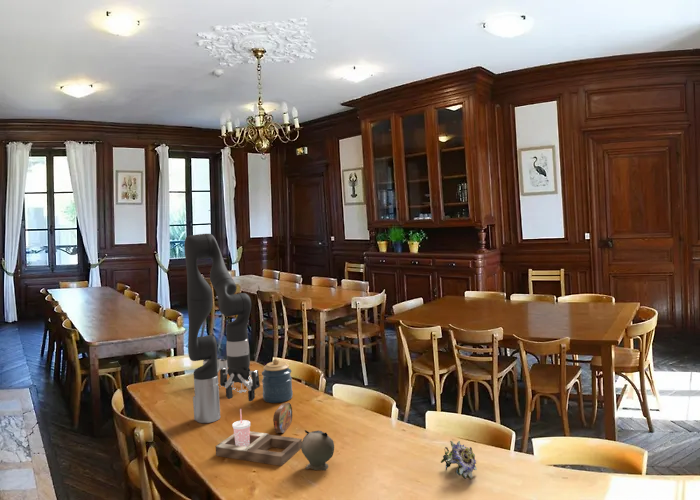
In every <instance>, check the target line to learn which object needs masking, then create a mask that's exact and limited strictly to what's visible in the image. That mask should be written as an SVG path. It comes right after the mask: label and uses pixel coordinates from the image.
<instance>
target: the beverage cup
mask: <svg viewBox="0 0 700 500" xmlns="http://www.w3.org/2000/svg"><path fill="white" fill-rule="evenodd" d="M239 418H240V420H237V421H234V422H233V423H232V424H231V425H232V428H233V434H234V437H235V445H237V446H244V447H247V446H248V445H250V431H251V421H249V420H248V419H247V420H246V419H243V415H242V408H239Z"/></svg>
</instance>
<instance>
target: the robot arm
mask: <svg viewBox="0 0 700 500" xmlns="http://www.w3.org/2000/svg"><path fill="white" fill-rule="evenodd" d="M183 247H184V257H185V267H186V279H187V281H186V282H187V290H186V291H187V292H186V293H187V294H186V296H187V298H186V299H187V312H188V313H187V314H188V316H187V317H188V332H187V333H188V335H187V336H188V337H187V354H188V358H189V360H191V361H192V362H198V361H203V360H207V359H208V361H207V362H206V363H205V364H204V365H203V364H202V365H201V366H199V367H197V368H195V370H193V386H194V395H193V396H192V403H193V404H192V405H193V419H194V421H196V422H197V423H199V424H209V423H214V422H216V421H218V420H220V419H221V404H220V387H219V386H218V384H220V385H221V387H225V388H226V389H225V396H226V399H227V400H230V399H232V398H233V396H234V394H233V391H232V388H233V382H234V383H239V384H241V383H242V385H244V387H246V388H247V398H248V399H247V400H248V402H253V401H254V399H255V398H256V394H255V391H256V389H258V388H260V387H261V384H260V377H259V370H258V369H255V370H251V369H250V365H251V359H250V344H249V336H248V335H249V334H248V325H249V319H250V314H251V310H252V299H251V297H250V295H249V294H247V293H245V292H241V293H239V292H238V293H236V292H237V289H238V287H237V285H236V283H235V280H234V279H233V277H232V276H231V274H230V272H229V270H228V268H227V265H226V264H225V260H224V258H223V254H222V252H221V249H220V247H219V244H218V241H217V240H216V238H215V236H214V235H213V234H212V233H198V234H192V235H187V236H186V237H185V239H184V246H183ZM203 259H204V260H205V259H211V260H212V265H211V268H210V271H209V280H210V283H211V285H212V287H211V286H210V284H209V282H207V280H206V279H205V278H204V276H203V274H201V272H200V270H199V268H198V266H199V265H198V260H203ZM212 288H213V289H214V291H215V293H216V295H217V300H218V308H219V311H220V313H221V314H222V315H224V316H225V317H233V316H237V317H236V318H235V319H234V320H233V321H230V322H228V323H227V324H226V327H225V334H226V344H225V345H226V347H225V349H226V359H227V367H228V369H227V368H226V367H225V368H222V369H220V370H219V372H218V369H217V358H218V342H217V338H216V337H215V335H210V334H209V335H204V336H202V335H201V336H199V332H200V329H201V327H202V325H203V324H204V322H205V321H206V319H207V318H208V316H209V315H210V313H211V311H212V309H213V305H214V304H213V289H212ZM228 376H229V378H228Z"/></svg>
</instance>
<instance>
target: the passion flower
mask: <svg viewBox="0 0 700 500" xmlns="http://www.w3.org/2000/svg"><path fill="white" fill-rule="evenodd" d="M449 443H450V446H451V450H449V448H448V446H445V447H444V448H443V449H444V454H443V455H442V457H443V459H441V461H440V463H441V464H443V463H444V462H445V471H447V470H448V468H450V467H451V465H452V464H453V465H454V464H457V468H456V471H455V472H456V474H457V476H461V477H462V478H463V479H464V480H466V479H467V478H468V479H469V478H470V479H469V480H472V479H473V471H477V466H476V464H477V459H475V457H476V454H475V453H474V452H473V448H472V447H471V446H470V447H469V446H465V444H463V445H462V444H461V441H460V440H458V441H457V442H456V443H454V441H453V440H450V441H449Z"/></svg>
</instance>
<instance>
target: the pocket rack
mask: <svg viewBox="0 0 700 500" xmlns="http://www.w3.org/2000/svg"><path fill="white" fill-rule="evenodd" d="M302 440H303V439H302V438H297V437H290V436H284V435H275V434H269V433H268V432H267V433H266V432H259V431H251V430H250V445H248V446H247V447H244V446H237V445H235V437H234V433H233V434H231V435H230V436H229V437H227V438H226V439H224V440H222V441H221V442H220V443H218V444H217V445H215V456H217V457H223V458H229V459H234V460H241V461H247V462H253V463H259V464H266V465H273V466H279V467H280V466H281V467H283V465H284V464H286V463H287V462H288V461H289V460H291V458H292V457H293V456H294V455H296V454H297V453H298V452H299V451H300V450H301V444H302ZM271 448H277V449H283V450H282V451H281V452H280V451H279V452H277V451H271V450H270V449H271Z"/></svg>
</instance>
